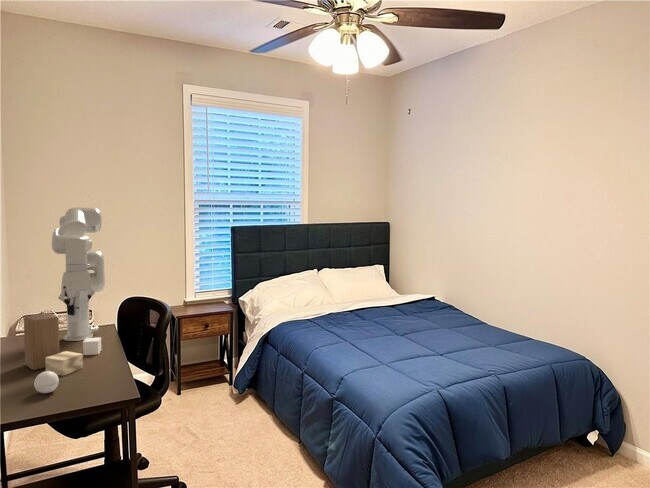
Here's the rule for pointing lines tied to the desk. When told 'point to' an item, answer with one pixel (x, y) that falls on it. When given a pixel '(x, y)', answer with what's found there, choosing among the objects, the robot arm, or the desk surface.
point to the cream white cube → (92, 346)
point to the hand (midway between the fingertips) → (77, 313)
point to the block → (40, 339)
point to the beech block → (64, 362)
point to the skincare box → (79, 307)
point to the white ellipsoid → (46, 382)
